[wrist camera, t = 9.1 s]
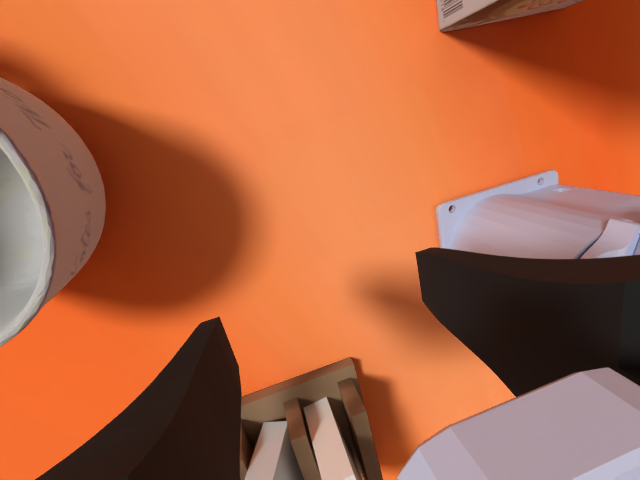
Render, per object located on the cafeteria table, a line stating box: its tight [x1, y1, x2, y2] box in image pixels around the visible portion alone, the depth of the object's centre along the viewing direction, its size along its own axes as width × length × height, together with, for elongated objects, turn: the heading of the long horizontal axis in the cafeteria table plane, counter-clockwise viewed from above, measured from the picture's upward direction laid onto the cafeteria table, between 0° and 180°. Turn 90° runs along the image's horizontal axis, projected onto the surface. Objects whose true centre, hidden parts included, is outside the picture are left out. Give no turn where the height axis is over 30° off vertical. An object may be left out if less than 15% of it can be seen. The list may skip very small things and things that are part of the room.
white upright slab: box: [304, 397, 362, 480], centre depth 23 cm, size 2×7×6 cm, turn 20°
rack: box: [240, 357, 383, 480], centre depth 24 cm, size 10×11×4 cm
